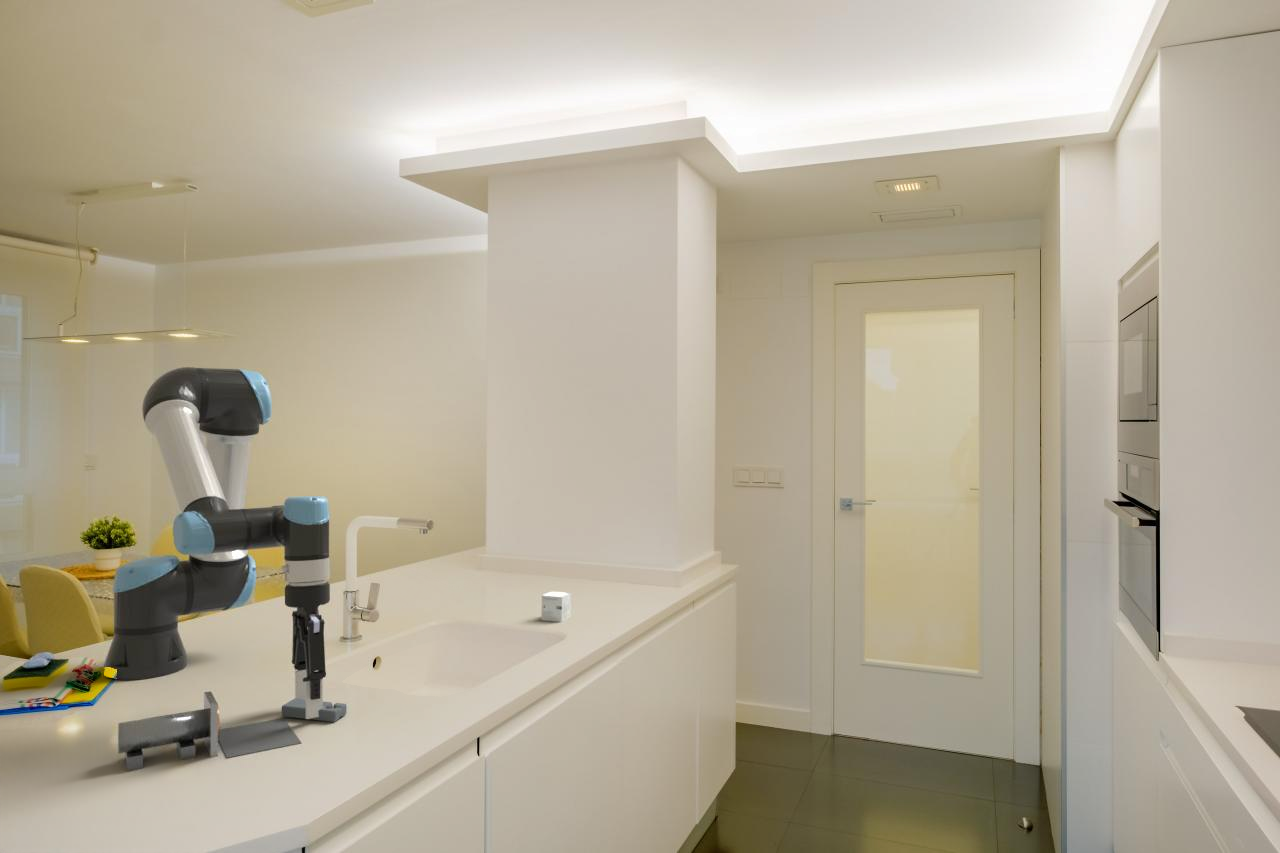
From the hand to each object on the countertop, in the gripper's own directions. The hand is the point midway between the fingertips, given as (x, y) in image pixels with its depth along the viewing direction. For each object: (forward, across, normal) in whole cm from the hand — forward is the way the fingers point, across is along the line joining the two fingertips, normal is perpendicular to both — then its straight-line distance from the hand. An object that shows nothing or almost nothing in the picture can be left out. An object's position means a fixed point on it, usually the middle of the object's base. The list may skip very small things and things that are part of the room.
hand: (308, 711), depth 148 cm
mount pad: (+1, +6, -10) cm, 11 cm away
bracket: (+2, -3, -1) cm, 3 cm away
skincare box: (0, -41, +72) cm, 83 cm away
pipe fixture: (+1, +7, -23) cm, 24 cm away
